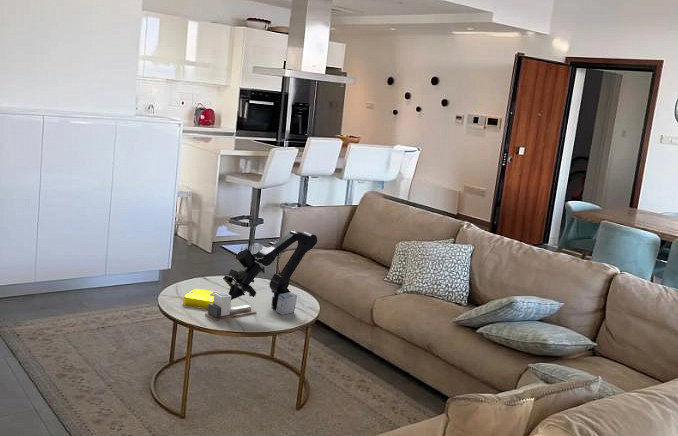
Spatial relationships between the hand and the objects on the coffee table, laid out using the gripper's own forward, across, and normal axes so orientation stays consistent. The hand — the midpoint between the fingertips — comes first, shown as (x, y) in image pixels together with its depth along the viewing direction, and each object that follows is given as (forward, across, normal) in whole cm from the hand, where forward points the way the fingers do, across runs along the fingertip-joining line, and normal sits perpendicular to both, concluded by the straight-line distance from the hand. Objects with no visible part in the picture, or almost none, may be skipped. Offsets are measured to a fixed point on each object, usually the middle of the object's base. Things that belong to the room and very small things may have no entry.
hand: (227, 300), depth 302 cm
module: (+6, 0, +2) cm, 6 cm away
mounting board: (+3, 0, +7) cm, 7 cm away
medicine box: (-14, +8, +24) cm, 29 cm away
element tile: (+5, -18, +6) cm, 20 cm away
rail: (+2, 0, +6) cm, 7 cm away
